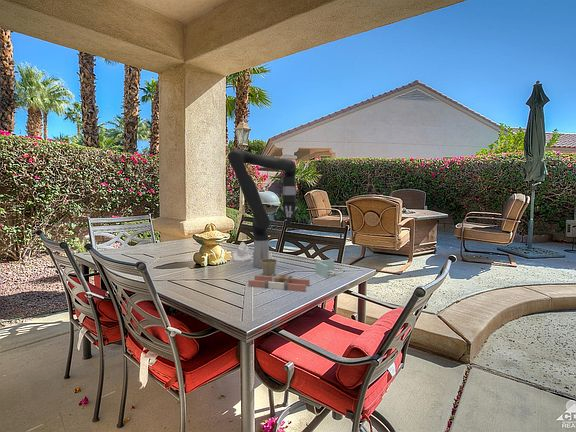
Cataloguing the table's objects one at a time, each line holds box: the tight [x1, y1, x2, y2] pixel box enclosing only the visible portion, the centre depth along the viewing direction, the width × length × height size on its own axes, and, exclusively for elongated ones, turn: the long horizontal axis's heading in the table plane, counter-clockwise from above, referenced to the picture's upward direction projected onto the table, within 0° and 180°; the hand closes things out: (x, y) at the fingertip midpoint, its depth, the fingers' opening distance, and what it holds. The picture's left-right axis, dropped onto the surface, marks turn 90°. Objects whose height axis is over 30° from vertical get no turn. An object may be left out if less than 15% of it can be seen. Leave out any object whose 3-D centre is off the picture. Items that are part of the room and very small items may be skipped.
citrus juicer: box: [232, 241, 252, 264], centre depth 211 cm, size 12×15×14 cm
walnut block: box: [274, 274, 291, 283], centre depth 158 cm, size 7×6×5 cm
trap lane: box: [247, 273, 311, 292], centre depth 158 cm, size 30×11×4 cm, turn 74°
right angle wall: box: [315, 258, 336, 279], centre depth 178 cm, size 12×12×8 cm
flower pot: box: [261, 258, 278, 276], centre depth 176 cm, size 9×9×9 cm
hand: (289, 223), depth 182 cm, fingers closed
